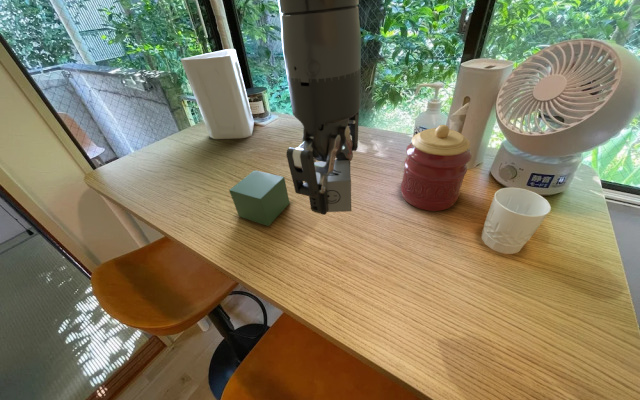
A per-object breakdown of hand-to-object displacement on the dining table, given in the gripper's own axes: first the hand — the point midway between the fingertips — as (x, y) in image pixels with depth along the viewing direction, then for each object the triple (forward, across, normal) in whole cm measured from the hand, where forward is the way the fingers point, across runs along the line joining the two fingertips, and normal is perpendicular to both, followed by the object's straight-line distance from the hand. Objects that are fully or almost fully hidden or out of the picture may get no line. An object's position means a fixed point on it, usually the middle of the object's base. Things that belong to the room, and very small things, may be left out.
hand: (332, 196), depth 36 cm
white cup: (+18, -20, +26) cm, 37 cm away
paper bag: (+18, -44, -66) cm, 81 cm away
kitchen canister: (+18, -30, +10) cm, 36 cm away
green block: (+18, -9, -24) cm, 31 cm away
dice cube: (+1, 0, 0) cm, 1 cm away
